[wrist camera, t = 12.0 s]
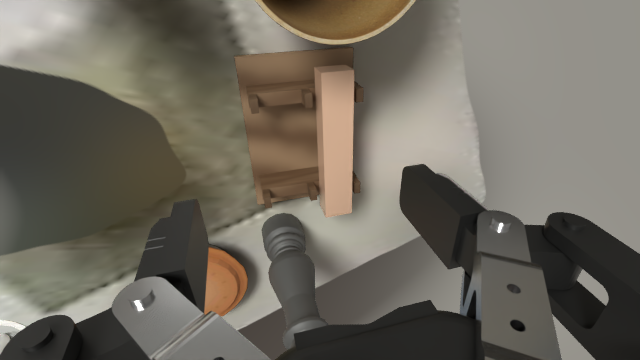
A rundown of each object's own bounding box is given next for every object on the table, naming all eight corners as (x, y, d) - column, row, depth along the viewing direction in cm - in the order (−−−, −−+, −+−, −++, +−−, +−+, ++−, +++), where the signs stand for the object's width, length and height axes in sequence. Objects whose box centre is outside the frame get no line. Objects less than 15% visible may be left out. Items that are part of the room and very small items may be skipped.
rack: (234, 55, 37) (235, 67, 31) (350, 47, 40) (372, 56, 34) (257, 200, 47) (261, 230, 41) (348, 186, 50) (365, 211, 44)
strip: (314, 67, 35) (321, 72, 32) (345, 64, 36) (354, 69, 33) (320, 204, 44) (325, 217, 41) (344, 200, 45) (351, 212, 42)
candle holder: (298, 244, 53) (346, 408, 32) (260, 245, 51) (284, 420, 30) (303, 213, 50) (359, 370, 29) (263, 213, 48) (291, 381, 27)
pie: (231, 219, 48) (232, 240, 43) (256, 289, 56) (258, 313, 52) (121, 247, 46) (111, 272, 41) (164, 315, 54) (158, 343, 49)
